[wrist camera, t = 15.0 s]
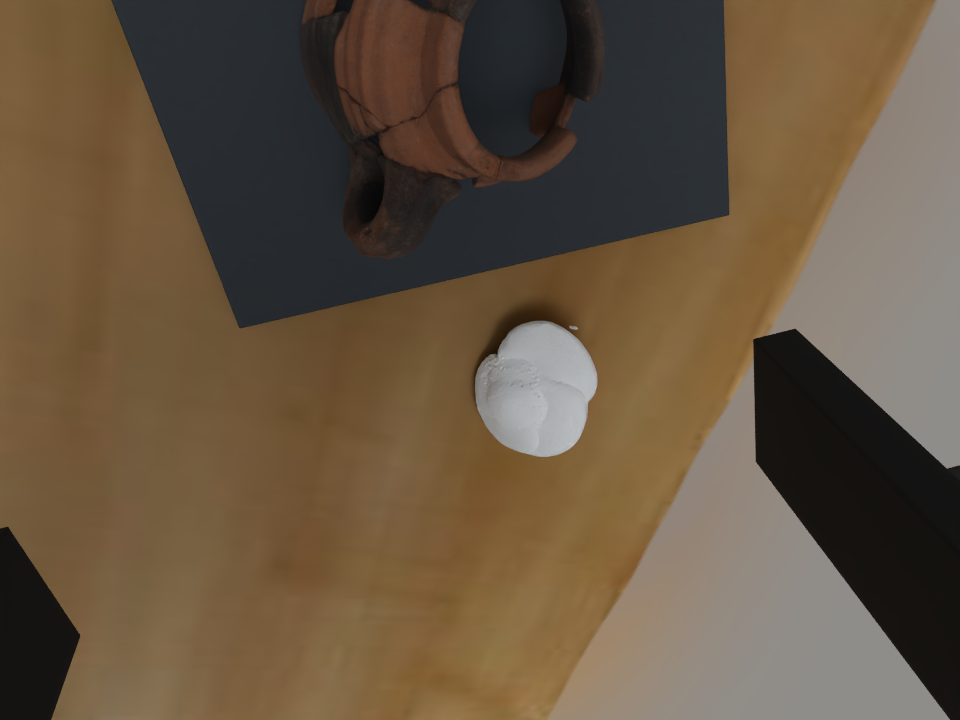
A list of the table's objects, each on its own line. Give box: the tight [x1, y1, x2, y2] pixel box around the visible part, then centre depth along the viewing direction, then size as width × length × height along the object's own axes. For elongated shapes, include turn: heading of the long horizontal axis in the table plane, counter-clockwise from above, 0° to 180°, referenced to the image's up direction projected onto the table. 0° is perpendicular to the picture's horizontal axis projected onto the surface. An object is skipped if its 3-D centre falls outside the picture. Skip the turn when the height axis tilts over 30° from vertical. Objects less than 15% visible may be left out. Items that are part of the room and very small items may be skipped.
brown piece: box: [300, 0, 605, 260], centre depth 29 cm, size 12×10×8 cm
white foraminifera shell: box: [474, 321, 597, 457], centre depth 37 cm, size 7×5×4 cm
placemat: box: [112, 0, 729, 328], centre depth 31 cm, size 22×17×1 cm
